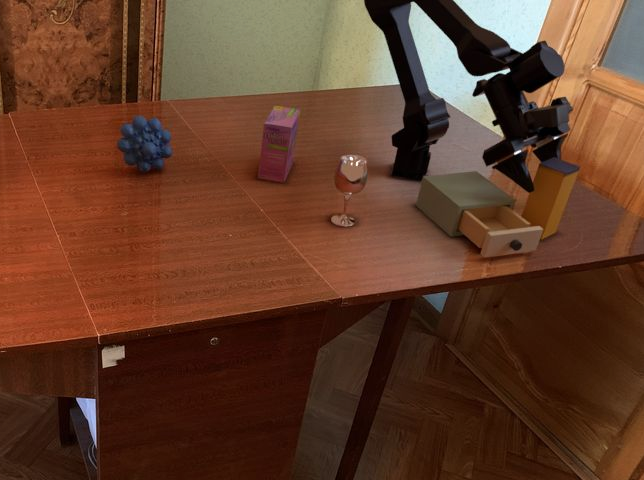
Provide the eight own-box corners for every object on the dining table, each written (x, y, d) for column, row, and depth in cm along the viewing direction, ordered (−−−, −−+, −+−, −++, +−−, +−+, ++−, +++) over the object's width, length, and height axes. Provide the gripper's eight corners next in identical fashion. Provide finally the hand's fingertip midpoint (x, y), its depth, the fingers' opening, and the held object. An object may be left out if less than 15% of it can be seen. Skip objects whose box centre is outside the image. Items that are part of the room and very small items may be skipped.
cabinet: (505, 230, 140) (515, 200, 136) (450, 236, 137) (459, 206, 133) (468, 199, 149) (476, 170, 146) (415, 205, 147) (422, 176, 143)
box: (284, 183, 153) (292, 126, 146) (257, 179, 154) (263, 122, 147) (293, 163, 161) (301, 108, 153) (267, 159, 162) (273, 105, 155)
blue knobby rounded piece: (124, 184, 150) (122, 126, 143) (114, 170, 155) (112, 113, 148) (178, 177, 154) (180, 119, 146) (167, 163, 159) (168, 107, 151)
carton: (541, 240, 137) (565, 173, 129) (516, 229, 140) (539, 163, 132) (555, 232, 139) (580, 166, 132) (531, 222, 143) (554, 156, 135)
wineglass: (360, 216, 142) (372, 156, 135) (356, 230, 138) (368, 169, 131) (330, 211, 144) (340, 151, 136) (324, 224, 139) (334, 163, 132)
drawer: (540, 254, 131) (548, 232, 129) (488, 261, 129) (495, 239, 126) (497, 220, 141) (504, 199, 138) (448, 226, 138) (454, 204, 136)
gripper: (517, 93, 124) (557, 179, 124) (578, 73, 133) (615, 154, 133) (465, 125, 133) (501, 205, 133) (524, 104, 143) (559, 179, 142)
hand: (546, 185), depth 135 cm, fingers open, 9 cm apart
